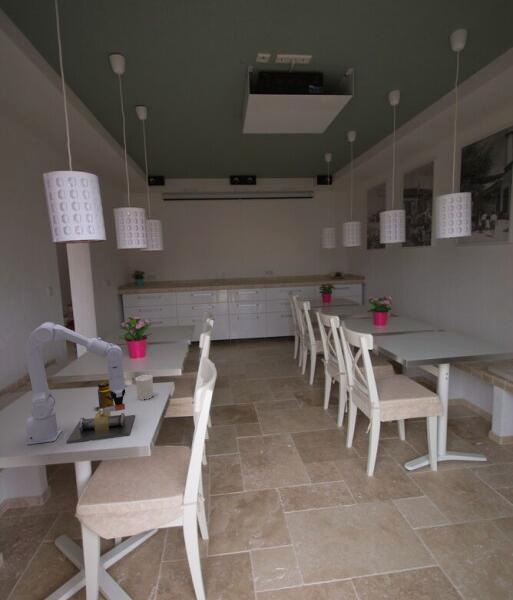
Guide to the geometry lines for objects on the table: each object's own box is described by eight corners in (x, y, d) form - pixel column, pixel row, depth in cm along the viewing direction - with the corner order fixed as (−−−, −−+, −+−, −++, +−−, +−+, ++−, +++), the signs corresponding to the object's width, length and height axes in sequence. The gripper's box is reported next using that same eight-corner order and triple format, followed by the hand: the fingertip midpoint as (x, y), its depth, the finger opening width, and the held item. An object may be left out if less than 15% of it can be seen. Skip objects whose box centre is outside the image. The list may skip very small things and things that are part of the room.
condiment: (116, 409, 157) (113, 383, 156) (95, 414, 152) (93, 387, 151) (112, 403, 163) (110, 378, 162) (93, 408, 159) (90, 383, 157)
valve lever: (98, 414, 136) (98, 410, 136) (98, 412, 138) (98, 408, 138) (125, 409, 140) (124, 405, 139) (124, 407, 142) (124, 403, 142)
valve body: (66, 443, 128) (64, 425, 127) (79, 423, 144) (77, 407, 143) (129, 435, 133) (128, 418, 132) (135, 417, 148) (134, 401, 147)
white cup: (157, 396, 170) (156, 376, 169) (144, 402, 164) (142, 381, 162) (146, 393, 174) (145, 373, 173) (133, 398, 168) (131, 378, 166)
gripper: (129, 379, 135) (132, 412, 137) (124, 369, 148) (127, 399, 150) (109, 382, 132) (112, 416, 134) (106, 372, 145) (109, 403, 146)
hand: (119, 408), depth 141 cm, fingers closed, pressing on valve lever
